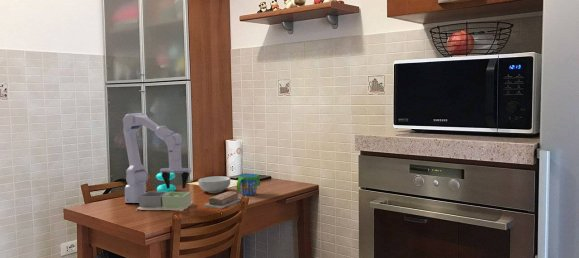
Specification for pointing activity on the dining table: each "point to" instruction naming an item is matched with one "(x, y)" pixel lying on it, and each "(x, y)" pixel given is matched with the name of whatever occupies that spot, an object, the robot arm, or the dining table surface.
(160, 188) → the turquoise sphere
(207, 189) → the cereal bowl
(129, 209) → the dining table surface
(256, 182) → the snack cup
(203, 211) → the dining table surface
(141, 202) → the two-tone hollow container
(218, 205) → the packaged product
